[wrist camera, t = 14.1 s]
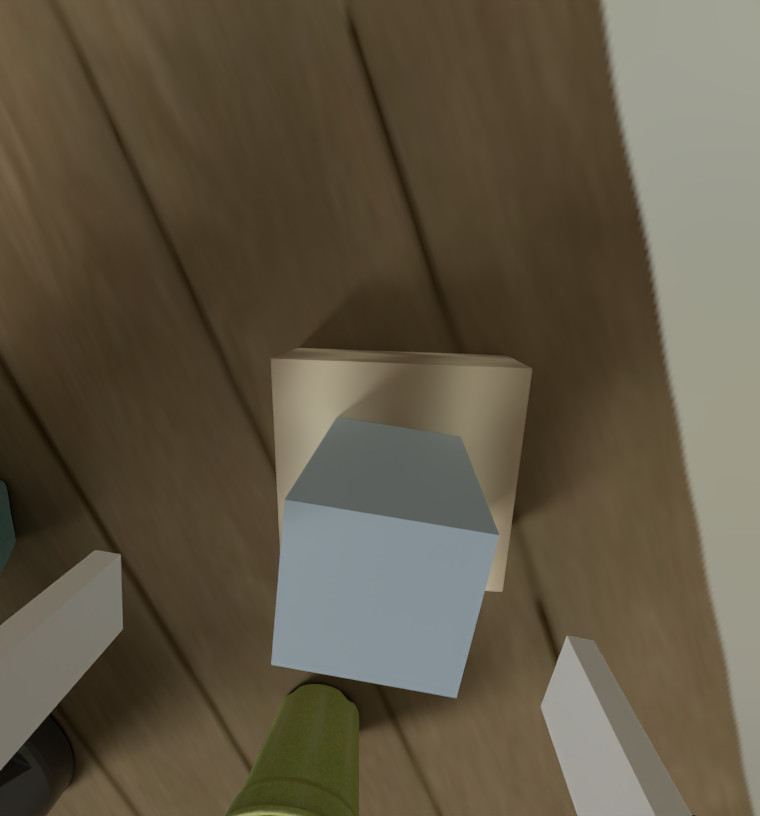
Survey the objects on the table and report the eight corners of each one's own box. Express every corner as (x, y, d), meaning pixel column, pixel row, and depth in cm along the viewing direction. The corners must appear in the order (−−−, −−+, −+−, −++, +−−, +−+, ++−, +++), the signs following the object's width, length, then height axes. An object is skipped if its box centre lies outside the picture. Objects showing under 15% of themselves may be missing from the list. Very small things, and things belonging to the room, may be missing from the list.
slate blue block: (324, 525, 20) (271, 664, 12) (336, 416, 18) (284, 499, 11) (437, 544, 20) (456, 698, 12) (460, 436, 18) (499, 535, 10)
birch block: (304, 525, 26) (281, 575, 21) (300, 347, 23) (270, 358, 18) (484, 536, 25) (502, 591, 20) (505, 354, 22) (532, 368, 17)
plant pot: (267, 750, 31) (215, 913, 23) (255, 660, 29) (193, 807, 20) (380, 759, 31) (369, 929, 22) (379, 667, 28) (366, 822, 20)
